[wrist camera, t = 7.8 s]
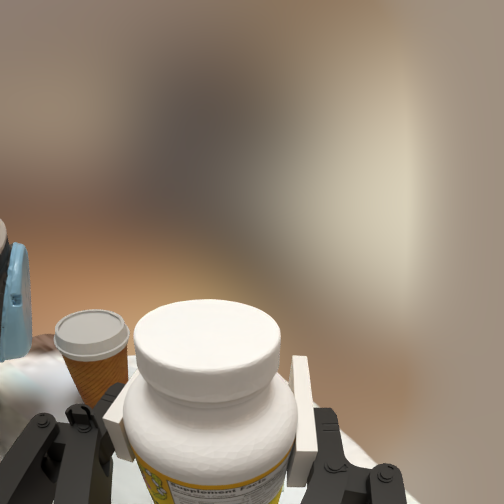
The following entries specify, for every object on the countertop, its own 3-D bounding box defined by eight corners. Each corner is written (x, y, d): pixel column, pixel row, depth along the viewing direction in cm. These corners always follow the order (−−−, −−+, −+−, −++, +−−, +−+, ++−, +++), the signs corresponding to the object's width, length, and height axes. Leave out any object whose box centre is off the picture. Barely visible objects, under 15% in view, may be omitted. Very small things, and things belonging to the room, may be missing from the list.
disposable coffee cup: (150, 419, 31) (135, 339, 28) (78, 431, 26) (49, 350, 23) (132, 377, 39) (121, 304, 36) (73, 386, 34) (53, 312, 31)
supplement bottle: (166, 465, 15) (136, 284, 12) (267, 468, 16) (291, 289, 13) (154, 547, 9) (66, 376, 6) (280, 551, 9) (343, 389, 6)
